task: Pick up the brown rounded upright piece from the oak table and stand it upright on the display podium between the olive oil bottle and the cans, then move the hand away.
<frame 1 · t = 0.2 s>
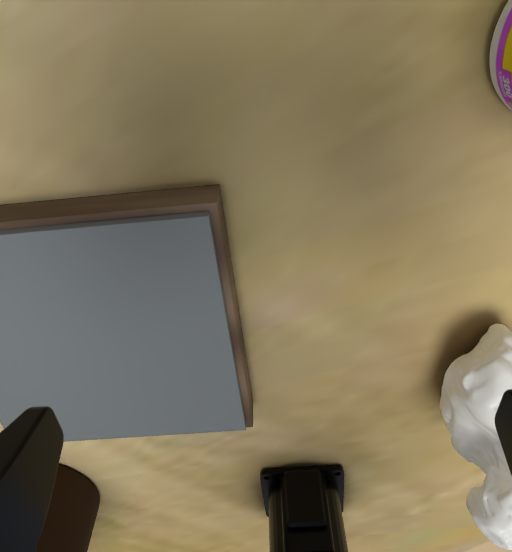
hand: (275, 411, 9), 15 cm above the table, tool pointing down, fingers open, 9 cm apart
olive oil: (43, 488, 37), on the table
bust: (476, 373, 30), on the table
display podium: (105, 322, 27), on the table
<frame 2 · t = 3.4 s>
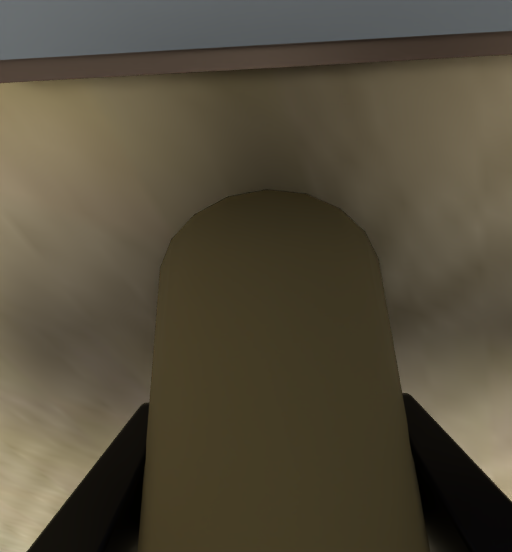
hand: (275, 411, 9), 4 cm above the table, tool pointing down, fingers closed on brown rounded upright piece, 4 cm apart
brown rounded upright piece: (269, 288, 12), on the table, touching gripper
when the fingers open (8 cm above the table, at t = 9.9 s): brown rounded upright piece drops 1 cm, resting on display podium.
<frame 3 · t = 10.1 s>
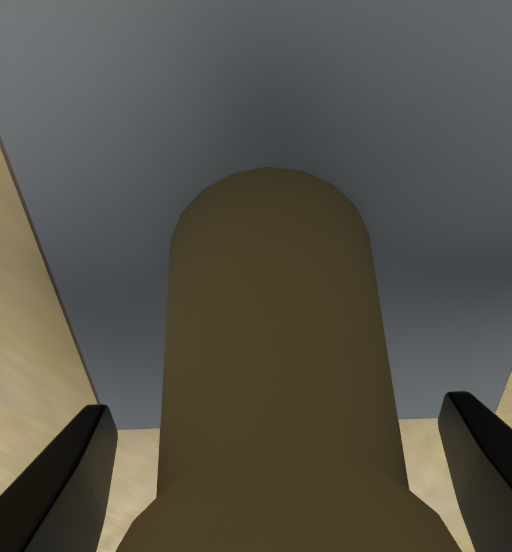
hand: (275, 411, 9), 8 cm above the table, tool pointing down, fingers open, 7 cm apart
brown rounded upright piece: (269, 259, 14), point 2 cm above the table, touching display podium
display podium: (294, 223, 16), on the table
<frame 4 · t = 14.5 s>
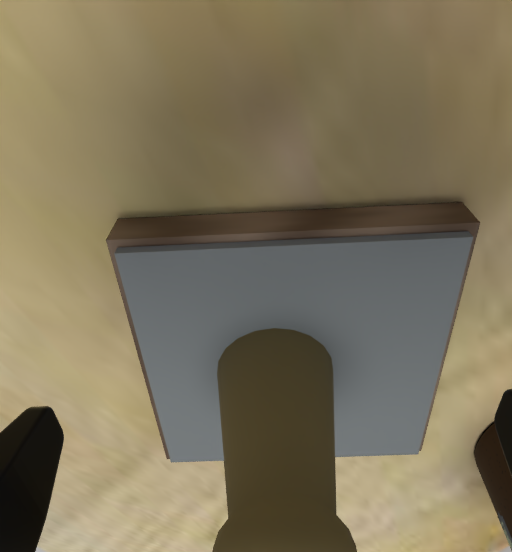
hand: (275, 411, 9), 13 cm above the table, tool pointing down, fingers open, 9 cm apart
brown rounded upright piece: (274, 369, 23), point 2 cm above the table, touching display podium
display podium: (289, 338, 25), on the table
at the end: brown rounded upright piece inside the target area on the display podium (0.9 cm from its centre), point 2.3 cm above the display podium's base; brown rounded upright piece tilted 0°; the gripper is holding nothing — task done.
